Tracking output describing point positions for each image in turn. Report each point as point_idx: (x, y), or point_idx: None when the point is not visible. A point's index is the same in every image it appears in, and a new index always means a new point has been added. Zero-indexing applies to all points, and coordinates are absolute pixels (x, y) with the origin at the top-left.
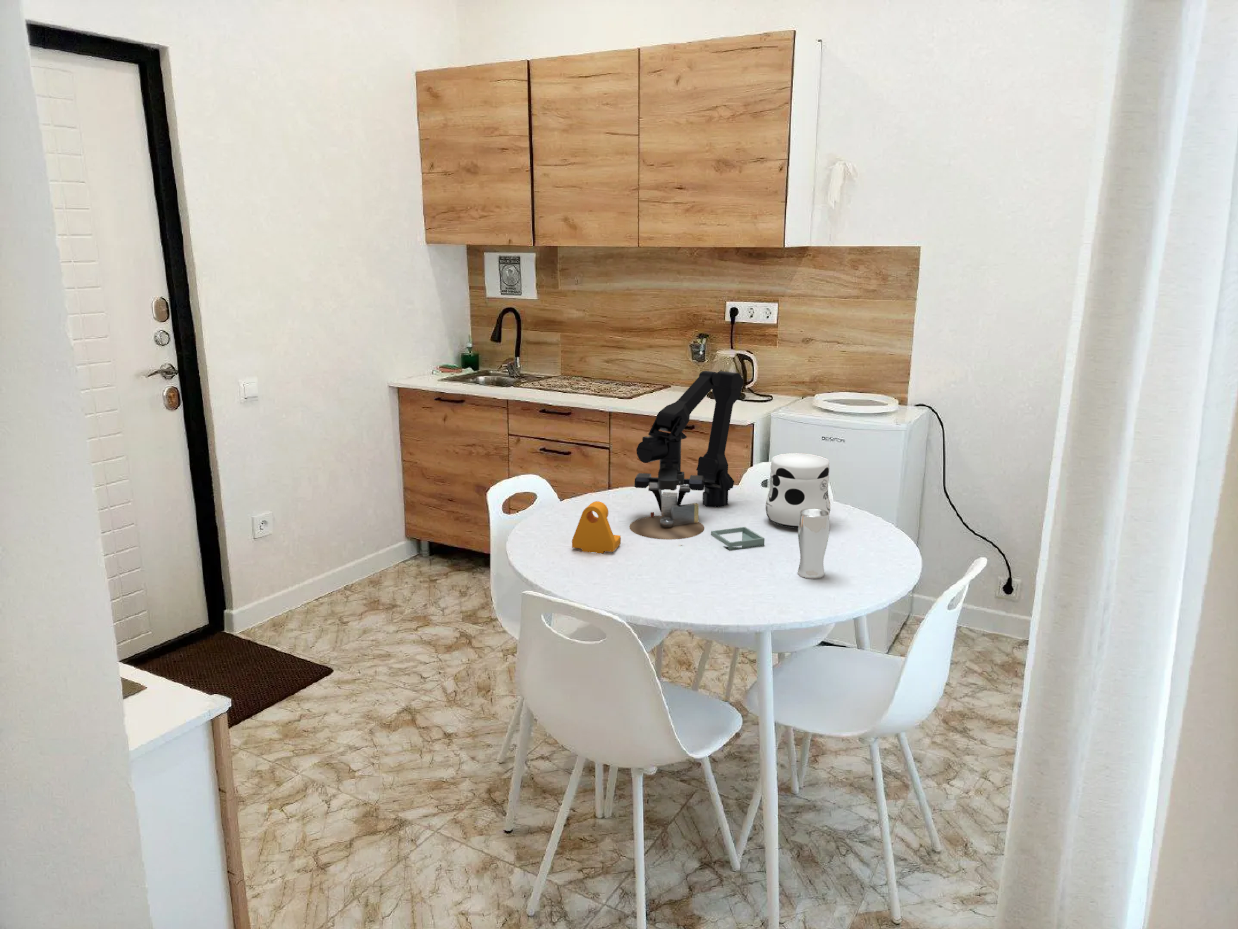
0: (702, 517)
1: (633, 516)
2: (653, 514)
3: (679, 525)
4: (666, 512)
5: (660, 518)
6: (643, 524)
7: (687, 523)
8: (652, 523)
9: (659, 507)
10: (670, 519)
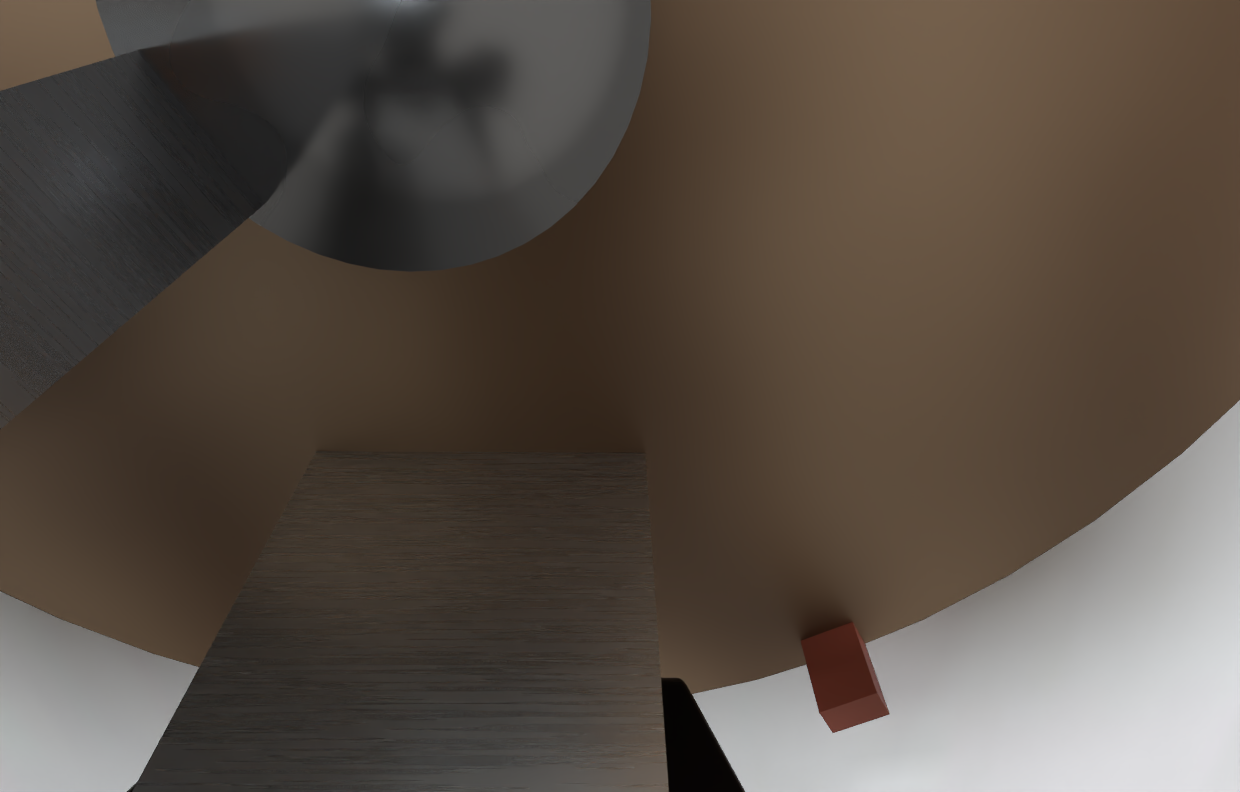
0: (47, 771)
1: (1109, 699)
2: (821, 678)
3: None
4: (509, 603)
5: (671, 578)
6: (1108, 137)
7: None
8: (854, 250)
9: (726, 775)
10: (238, 35)
